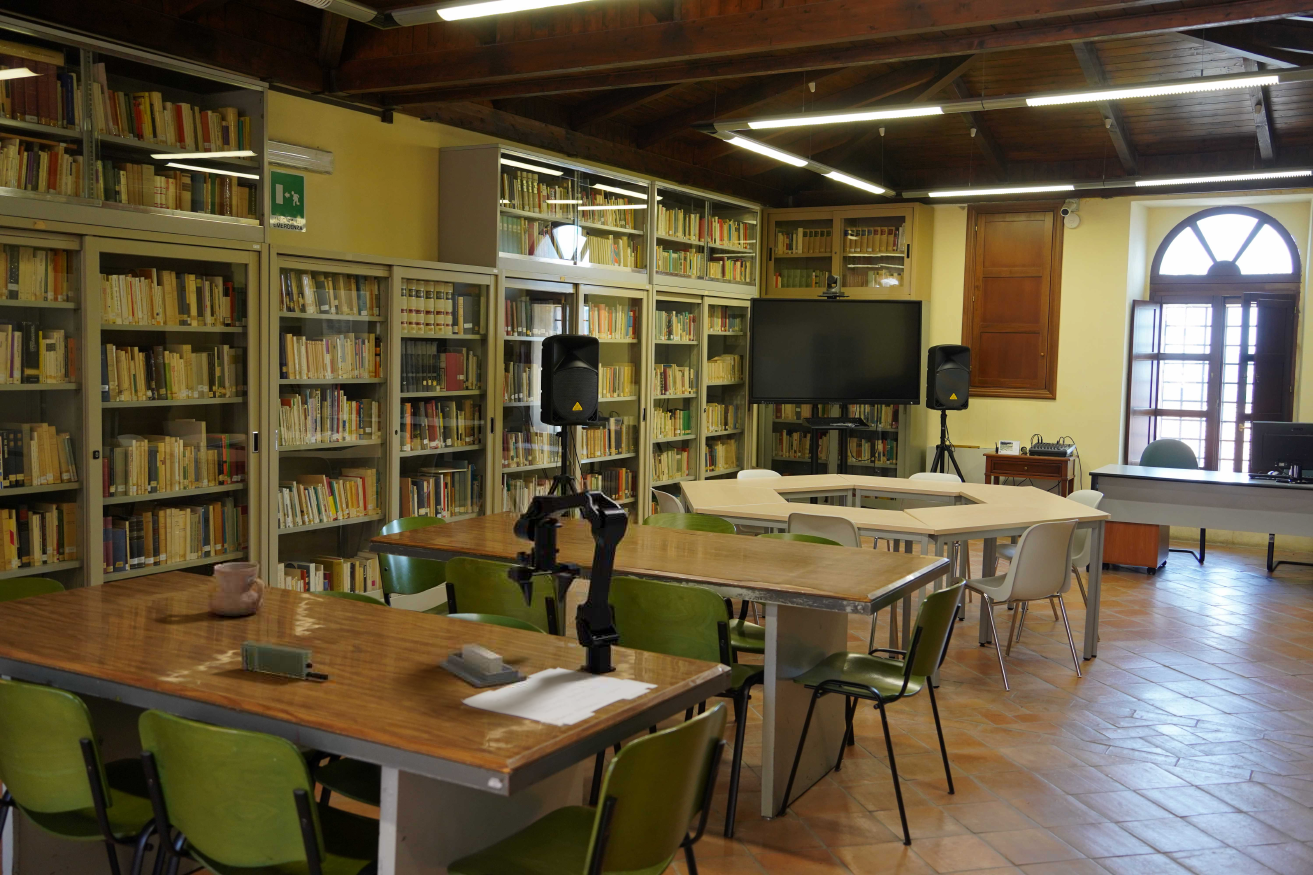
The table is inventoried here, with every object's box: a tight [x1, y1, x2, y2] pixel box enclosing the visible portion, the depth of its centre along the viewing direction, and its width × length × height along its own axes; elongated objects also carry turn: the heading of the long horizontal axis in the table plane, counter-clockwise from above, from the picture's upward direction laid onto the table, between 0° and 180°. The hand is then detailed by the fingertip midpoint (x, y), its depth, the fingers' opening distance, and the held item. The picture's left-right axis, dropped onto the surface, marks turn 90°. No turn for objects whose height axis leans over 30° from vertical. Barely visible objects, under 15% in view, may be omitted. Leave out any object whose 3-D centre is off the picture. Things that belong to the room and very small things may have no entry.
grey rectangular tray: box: [438, 651, 527, 689], centre depth 250 cm, size 22×12×3 cm, turn 35°
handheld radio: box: [240, 640, 329, 681], centre depth 245 cm, size 7×3×25 cm
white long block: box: [461, 643, 503, 673], centre depth 250 cm, size 15×3×4 cm, turn 35°
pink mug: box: [208, 561, 265, 617], centre depth 307 cm, size 18×14×14 cm
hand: (544, 604), depth 271 cm, fingers open, 9 cm apart
